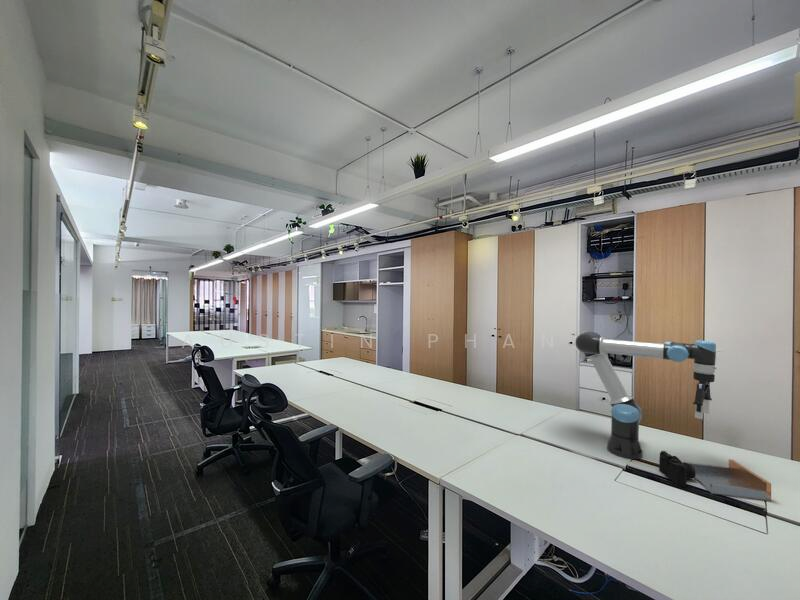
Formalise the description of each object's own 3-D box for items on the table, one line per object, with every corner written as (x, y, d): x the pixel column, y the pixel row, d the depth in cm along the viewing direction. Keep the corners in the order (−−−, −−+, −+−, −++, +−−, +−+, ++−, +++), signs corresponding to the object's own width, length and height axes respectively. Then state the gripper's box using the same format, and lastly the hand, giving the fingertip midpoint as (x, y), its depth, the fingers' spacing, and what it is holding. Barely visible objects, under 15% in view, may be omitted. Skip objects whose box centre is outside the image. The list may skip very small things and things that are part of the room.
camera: (704, 489, 133) (705, 465, 133) (675, 486, 136) (676, 463, 136) (682, 472, 147) (682, 450, 147) (656, 469, 149) (656, 448, 149)
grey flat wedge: (712, 493, 131) (712, 476, 131) (682, 469, 149) (682, 454, 149) (771, 501, 126) (771, 483, 126) (732, 475, 145) (732, 459, 145)
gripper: (709, 377, 145) (706, 423, 146) (719, 371, 160) (717, 412, 161) (687, 374, 151) (685, 418, 152) (699, 368, 166) (697, 408, 167)
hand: (701, 415), depth 156 cm, fingers open, 13 cm apart
